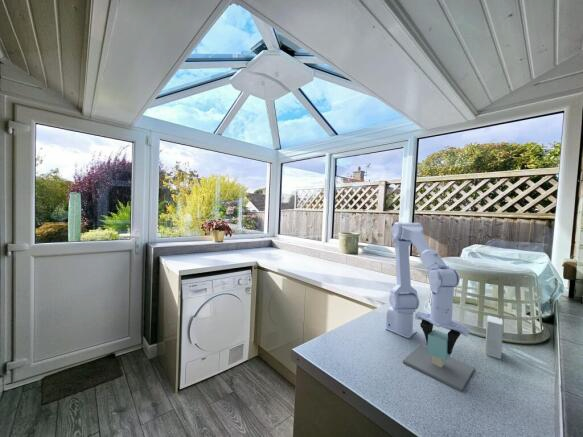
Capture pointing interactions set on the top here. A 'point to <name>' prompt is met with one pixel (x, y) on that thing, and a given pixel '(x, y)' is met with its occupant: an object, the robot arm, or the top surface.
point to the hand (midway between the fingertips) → (439, 348)
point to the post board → (440, 368)
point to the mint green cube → (438, 344)
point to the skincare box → (494, 336)
